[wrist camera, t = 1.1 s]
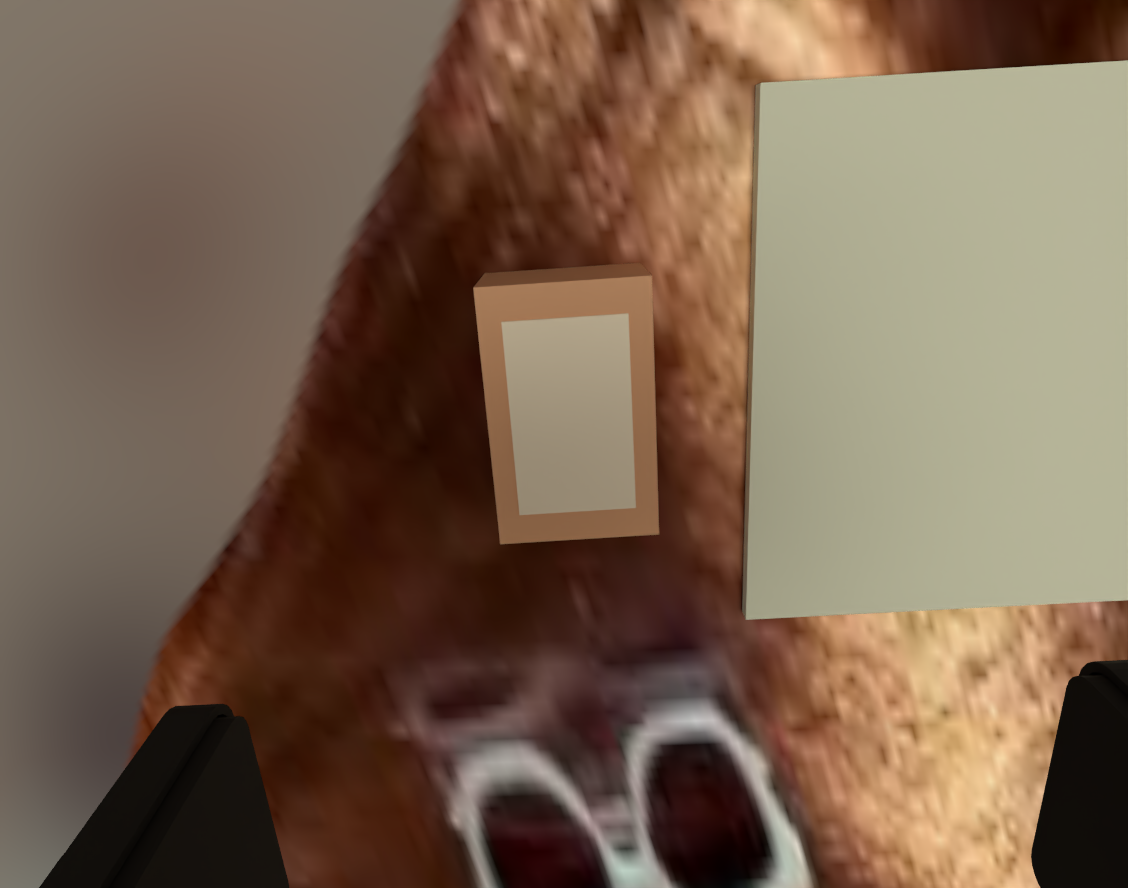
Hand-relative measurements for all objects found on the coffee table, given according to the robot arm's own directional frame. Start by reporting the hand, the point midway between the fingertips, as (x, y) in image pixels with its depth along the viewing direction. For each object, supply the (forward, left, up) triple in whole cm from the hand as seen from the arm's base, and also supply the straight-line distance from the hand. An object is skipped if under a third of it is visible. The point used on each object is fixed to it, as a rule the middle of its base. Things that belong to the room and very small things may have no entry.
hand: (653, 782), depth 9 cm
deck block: (0, +1, -18) cm, 18 cm away
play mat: (0, -13, -18) cm, 22 cm away
